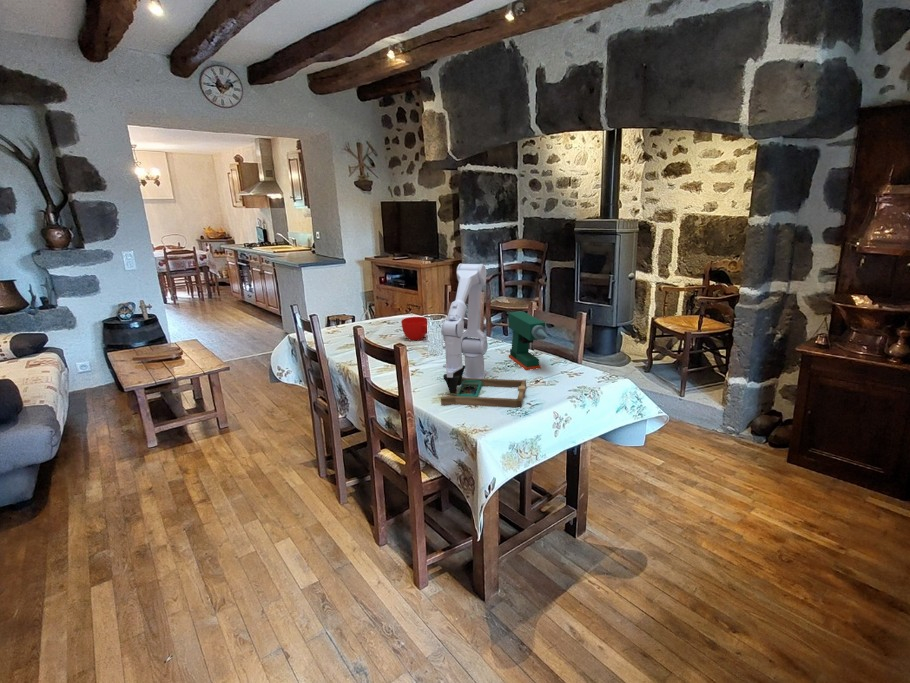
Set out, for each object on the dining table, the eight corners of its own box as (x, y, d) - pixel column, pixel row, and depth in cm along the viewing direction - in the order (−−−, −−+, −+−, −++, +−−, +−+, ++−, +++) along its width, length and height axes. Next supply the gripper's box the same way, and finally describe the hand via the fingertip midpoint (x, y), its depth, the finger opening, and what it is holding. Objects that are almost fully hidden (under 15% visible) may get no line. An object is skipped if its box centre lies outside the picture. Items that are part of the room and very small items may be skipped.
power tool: (557, 379, 187) (558, 328, 181) (540, 381, 185) (541, 330, 179) (523, 355, 216) (523, 310, 211) (508, 357, 214) (507, 312, 209)
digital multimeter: (456, 402, 171) (455, 394, 170) (462, 386, 185) (462, 379, 184) (477, 403, 170) (476, 395, 169) (482, 387, 184) (481, 379, 183)
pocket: (454, 382, 189) (454, 373, 188) (527, 385, 182) (527, 376, 182) (440, 405, 168) (439, 396, 167) (522, 409, 162) (522, 400, 161)
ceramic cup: (418, 345, 237) (417, 325, 234) (397, 339, 249) (396, 320, 246) (438, 339, 245) (437, 320, 242) (417, 334, 257) (416, 315, 254)
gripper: (447, 347, 181) (449, 381, 185) (437, 359, 168) (439, 396, 172) (466, 347, 180) (467, 382, 183) (457, 360, 166) (459, 397, 170)
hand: (455, 389), depth 177 cm, fingers open, 7 cm apart
